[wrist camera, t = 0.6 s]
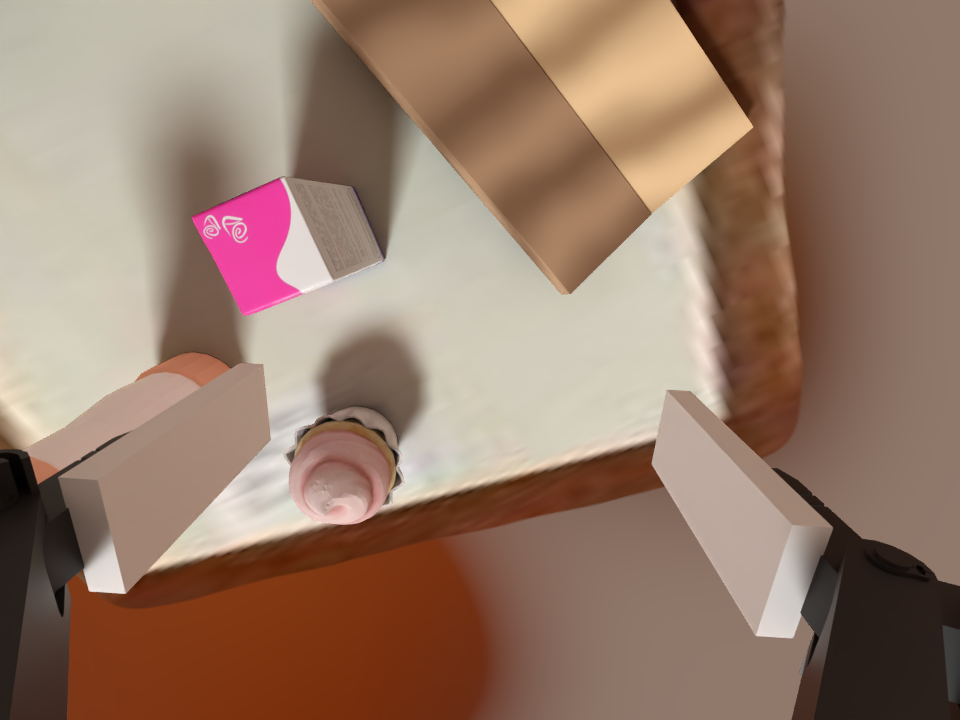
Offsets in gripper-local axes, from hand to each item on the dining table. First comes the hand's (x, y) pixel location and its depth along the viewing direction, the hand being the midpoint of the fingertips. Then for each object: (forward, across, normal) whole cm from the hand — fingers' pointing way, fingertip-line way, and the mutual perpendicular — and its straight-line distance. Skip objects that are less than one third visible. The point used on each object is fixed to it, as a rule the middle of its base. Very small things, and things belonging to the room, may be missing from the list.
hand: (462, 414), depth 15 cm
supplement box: (+22, -11, +4) cm, 25 cm away
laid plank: (+22, +6, +18) cm, 29 cm away
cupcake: (+22, -10, -13) cm, 27 cm away
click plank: (+20, 0, +12) cm, 24 cm away
